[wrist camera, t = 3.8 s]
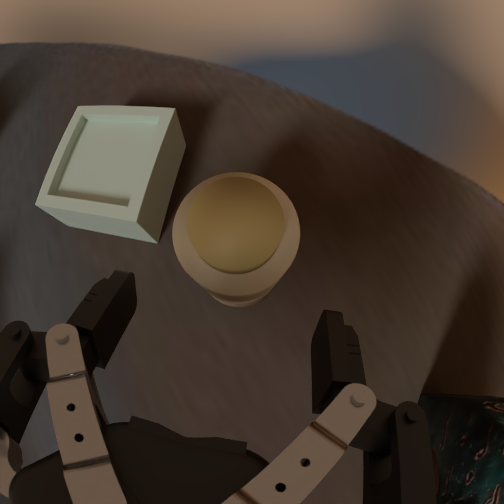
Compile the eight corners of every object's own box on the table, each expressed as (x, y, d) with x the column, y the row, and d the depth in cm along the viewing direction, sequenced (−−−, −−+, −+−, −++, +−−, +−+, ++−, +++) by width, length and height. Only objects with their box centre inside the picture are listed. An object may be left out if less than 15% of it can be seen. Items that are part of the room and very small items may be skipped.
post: (279, 247, 21) (312, 172, 11) (267, 314, 20) (293, 303, 10) (212, 235, 21) (185, 151, 11) (199, 301, 20) (151, 276, 10)
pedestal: (186, 145, 23) (175, 108, 18) (158, 243, 21) (136, 221, 16) (100, 138, 23) (78, 106, 18) (68, 225, 21) (35, 204, 17)
